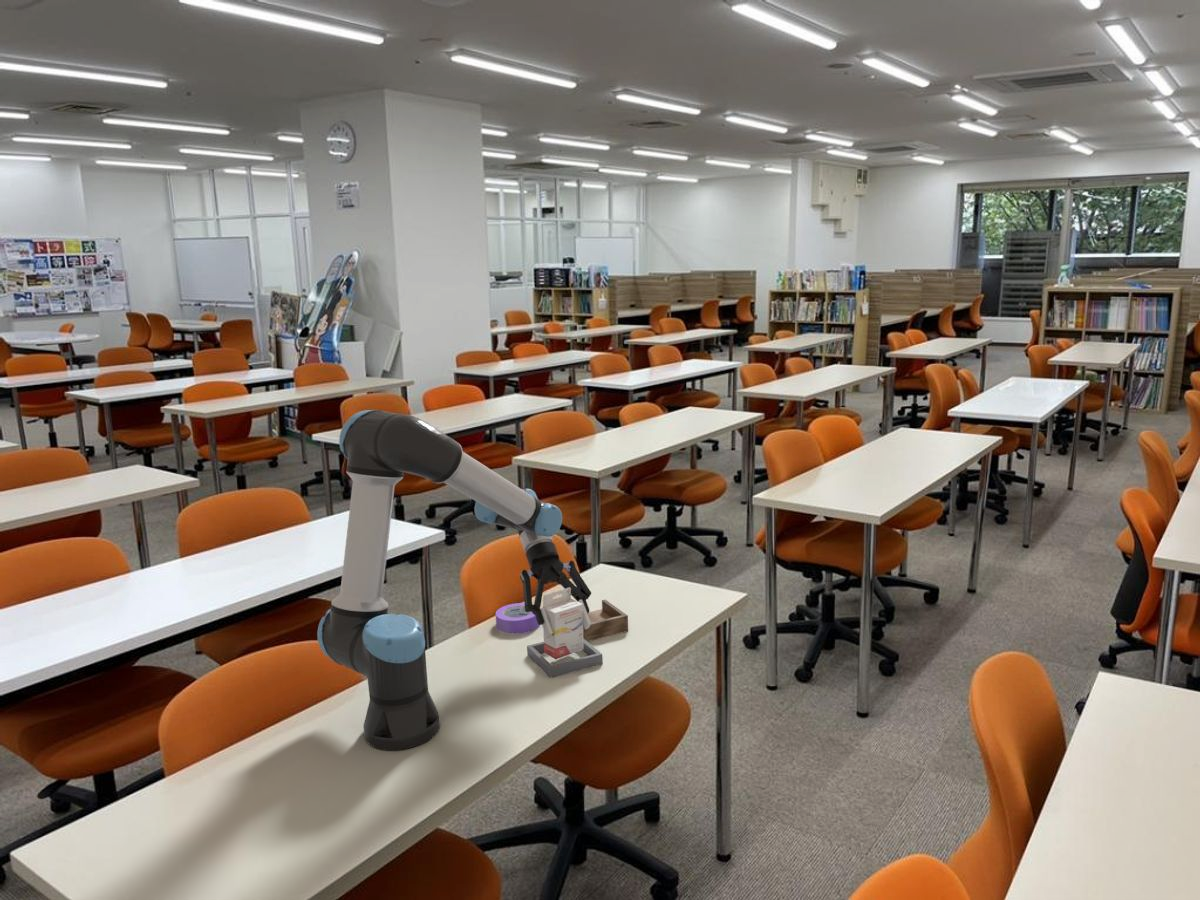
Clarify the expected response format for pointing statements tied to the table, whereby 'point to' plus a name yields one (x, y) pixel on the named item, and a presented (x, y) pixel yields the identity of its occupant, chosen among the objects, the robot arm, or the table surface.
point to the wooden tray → (605, 622)
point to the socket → (568, 666)
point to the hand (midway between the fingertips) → (569, 631)
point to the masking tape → (515, 619)
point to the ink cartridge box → (563, 624)
